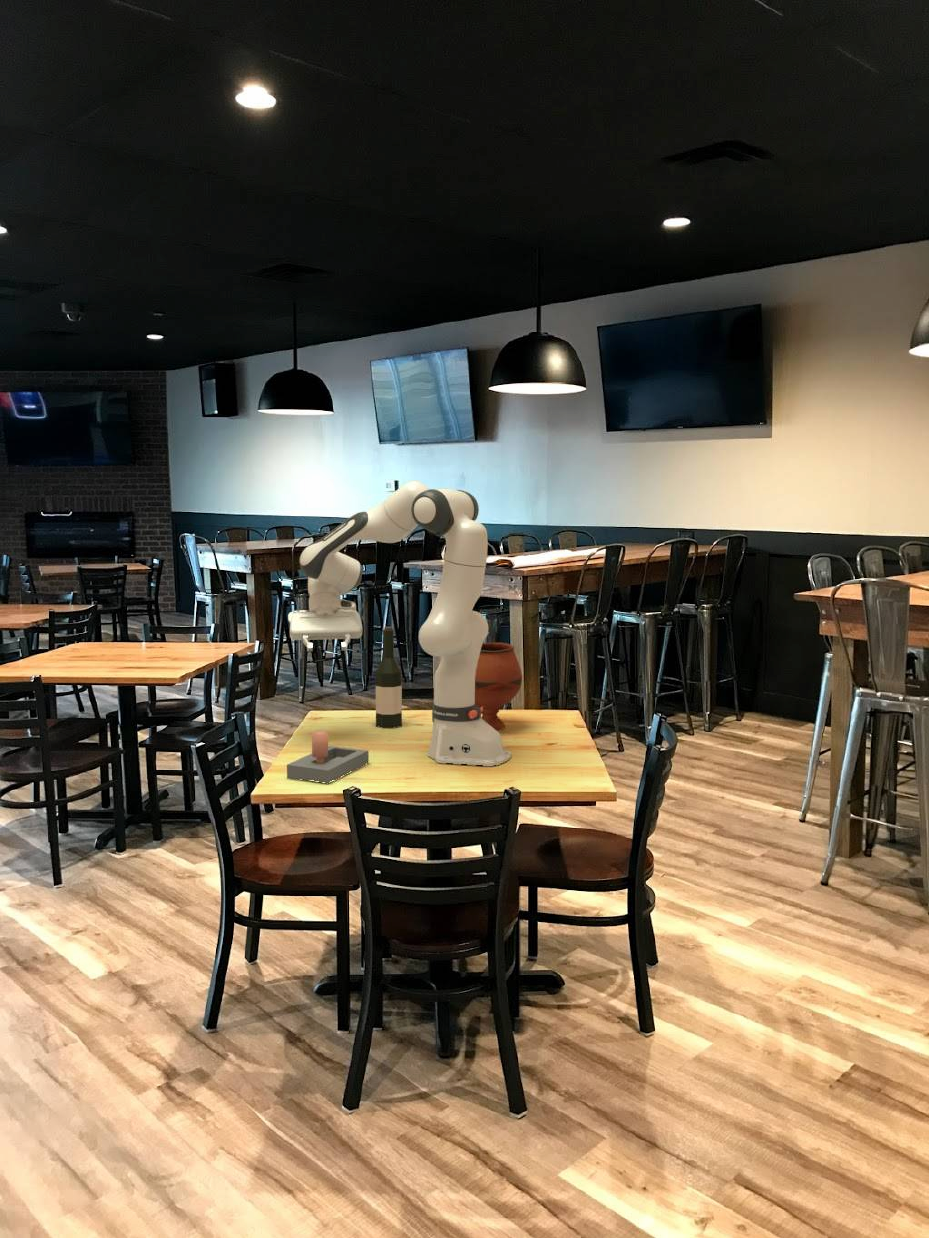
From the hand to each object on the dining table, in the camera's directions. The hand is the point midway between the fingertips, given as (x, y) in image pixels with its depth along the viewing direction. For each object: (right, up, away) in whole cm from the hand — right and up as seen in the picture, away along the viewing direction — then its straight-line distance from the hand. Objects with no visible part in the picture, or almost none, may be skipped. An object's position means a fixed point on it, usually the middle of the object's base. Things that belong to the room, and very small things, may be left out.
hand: (327, 649), depth 278 cm
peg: (+1, -31, -24) cm, 39 cm away
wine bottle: (+15, -24, +28) cm, 40 cm away
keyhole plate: (+3, -30, -20) cm, 36 cm away
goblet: (+45, -24, +25) cm, 58 cm away
